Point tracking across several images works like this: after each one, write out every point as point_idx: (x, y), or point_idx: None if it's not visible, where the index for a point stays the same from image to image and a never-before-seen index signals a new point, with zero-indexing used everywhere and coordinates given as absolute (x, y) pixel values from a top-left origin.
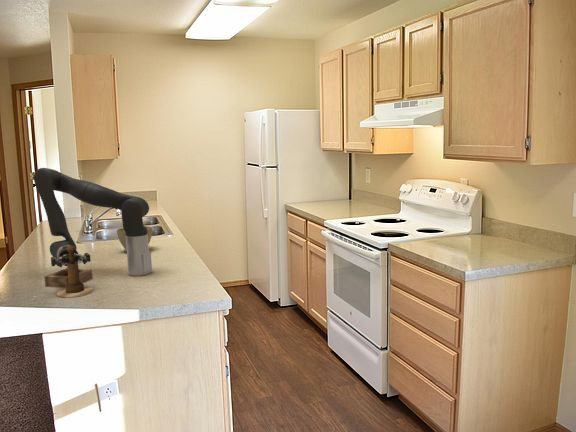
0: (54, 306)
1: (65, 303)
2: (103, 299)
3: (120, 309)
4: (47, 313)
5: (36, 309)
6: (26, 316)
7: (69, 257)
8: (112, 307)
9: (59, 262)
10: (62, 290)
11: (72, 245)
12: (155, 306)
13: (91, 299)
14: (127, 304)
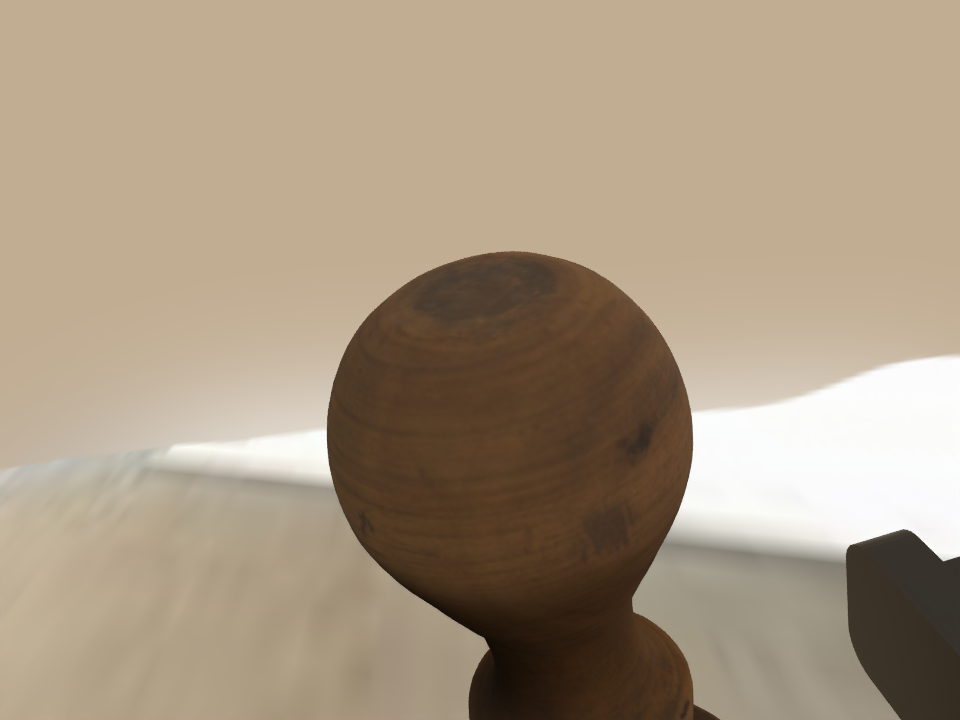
0: (790, 576)
1: (697, 642)
2: (300, 685)
3: (248, 462)
4: (772, 442)
5: (956, 527)
6: (934, 407)
7: (646, 620)
8: (284, 496)
9: (924, 563)
10: None
11: (406, 293)
12: (45, 483)
13: (418, 714)
14: (169, 534)
